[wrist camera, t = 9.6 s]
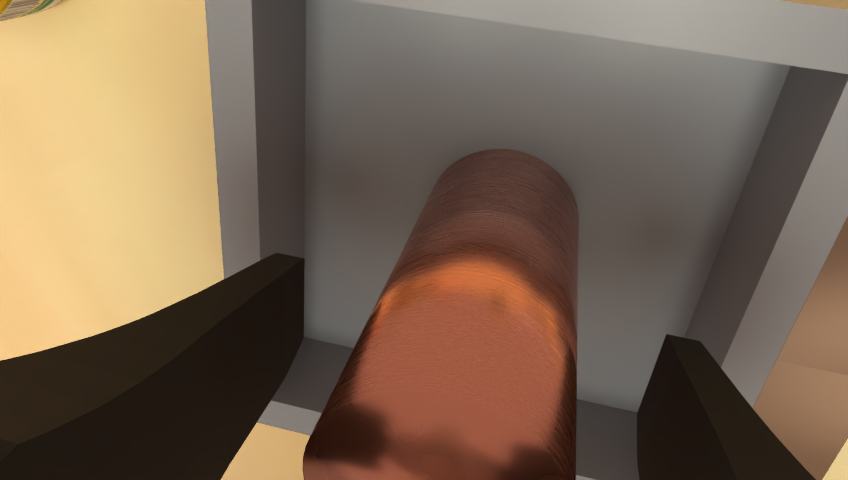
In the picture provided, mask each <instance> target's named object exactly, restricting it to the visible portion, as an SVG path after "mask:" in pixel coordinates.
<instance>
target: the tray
mask: <svg viewBox="0 0 848 480" xmlns="http://www.w3.org/2000/svg"><path fill="white" fill-rule="evenodd" d="M205 6H206V21H207V35H208V50H209V65H210V79H211V94H212V108H213V123H214V137H215V152H216V167H217V181H218V196H219V210H220V225H221V239H222V254H223V269H224V279H226V278H228V277H230V276H232V275H233V274H235V273H237V272H239V271H241V270H243V269H245V268H247V267H249V266H250V265H252V264H254V263H256V262H258V261H260V260H262V259H264V258H266V257H268V256H270V255H272V254H275V253H281V254H286V255H291V256H295V257H300V258H305V266H304V338H303V341H302V343H301V345H300V347H299V349H298V352H297V354H296V356H295V358H294V361H293V363H292V365H291V367H290V369H289V371H288V373H287V375H286V377H285V379H284V381H283V382H282V384H281V385H280V387H279V389H278V390H277V392H276V393H275V395H274V396H273V398H272V400H271V401H270V403H269V404H268V406H267V407H266V409H265V410H264V412H263V414H262V415H261V417H260V418H259V420H258V421H257V422H258V423H262V424H266V425H270V426H274V427H278V428H282V429H286V430H290V431H294V432H298V433H302V434H306V435H310V436H311V434H312V432H313V430H314V428H315V426H316V424H317V422H318V420H319V418H320V416H321V414H322V412H323V410H324V408H325V406H326V404H327V402H328V400H329V398H330V396H331V394H332V392H333V390H334V387H335V385H336V383H337V381H338V379H339V377H340V375H341V373H342V371H343V369H344V367H345V365H346V363H347V361H348V359H349V357H350V355H351V353H352V351H353V349H354V347H355V345H356V343H357V341H358V339H359V337H360V335H361V333H362V331H363V329H364V327H365V325H366V323H367V321H368V319H369V317H370V315H371V313H372V311H373V309H374V307H375V305H376V303H377V301H378V299H379V297H380V294H381V292H382V290H383V288H384V286H385V284H386V282H387V280H388V278H389V276H390V274H391V272H392V270H393V268H394V266H395V264H396V262H397V260H398V258H399V256H400V254H401V252H402V250H403V248H404V246H405V244H406V242H407V240H408V238H409V236H410V234H411V232H412V230H413V228H414V226H415V224H416V222H417V220H418V218H419V216H420V214H421V212H422V210H423V208H424V206H425V204H426V201H427V199H428V197H429V195H430V193H431V191H432V189H433V187H434V185H435V183H436V182H437V180H438V179H439V177H440V176H441V175H442V174H443V173H444V171H445V170H446V169H447V168H448V167H450V166H451V165H452V164H453V163H455V162H456V161H458V160H459V159H461V158H463V157H465V156H467V155H469V154H472V153H475V152H479V151H483V150H489V149H511V150H516V151H521V152H524V153H527V154H530V155H533V156H535V157H537V158H539V159H541V160H543V161H544V162H546V163H547V164H549V165H550V166H551V167H553V168H554V169H555V170H556V171H557V172H558V173H559V174H560V175H561V176H562V177H563V178H564V180H565V181H566V182H567V184H568V185H569V187H570V189H571V191H572V193H573V195H574V197H575V200H576V203H577V208H578V215H579V236H578V326H577V416H576V480H639V472H638V464H637V412H638V410H639V407H640V404H641V401H642V399H643V396H644V393H645V391H646V388H647V385H648V383H649V380H650V377H651V374H652V372H653V369H654V366H655V364H656V361H657V358H658V355H659V353H660V350H661V347H662V345H663V342H664V339H665V337H666V334H669V335H674V336H679V337H683V338H688V339H693V340H698V341H700V342H701V343H702V344H703V345H704V346H705V348H706V349H707V350H708V351H709V353H710V354H711V355H712V357H713V358H714V359H715V361H716V362H717V363H718V364H719V366H720V367H721V368H722V370H723V371H724V372H725V374H726V375H727V376H728V378H729V379H730V380H731V381H732V383H733V384H734V385H735V387H736V388H737V389H738V390H739V392H740V393H741V394H742V396H743V397H744V398H745V399H746V401H747V402H748V403H749V404H750V406H751V407H752V408H753V406H754V404H755V402H756V400H757V398H758V396H759V394H760V392H761V390H762V388H763V386H764V384H765V382H766V380H767V378H768V376H769V374H770V372H771V370H772V368H773V366H774V364H775V362H776V360H777V358H778V356H779V354H780V352H781V350H782V348H783V346H784V344H785V342H786V340H787V338H788V335H789V333H790V331H791V329H792V327H793V325H794V323H795V321H796V319H797V317H798V315H799V313H800V311H801V309H802V307H803V305H804V303H805V301H806V299H807V297H808V295H809V293H810V291H811V289H812V287H813V285H814V283H815V281H816V279H817V277H818V275H819V273H820V271H821V269H822V267H823V265H824V263H825V261H826V259H827V257H828V255H829V253H830V251H831V249H832V247H833V245H834V243H835V241H836V239H837V237H838V235H839V233H840V231H841V229H842V227H843V225H844V223H845V220H846V218H847V216H848V0H205Z"/></svg>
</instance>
